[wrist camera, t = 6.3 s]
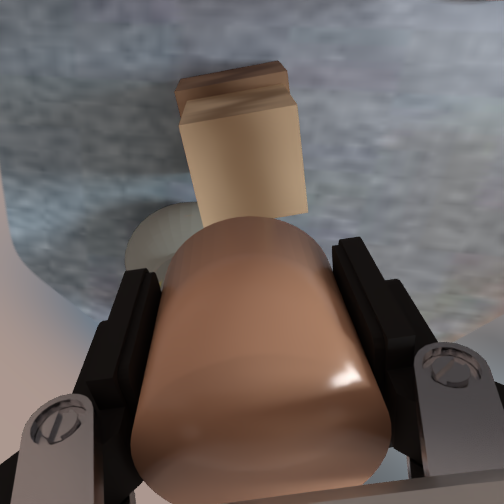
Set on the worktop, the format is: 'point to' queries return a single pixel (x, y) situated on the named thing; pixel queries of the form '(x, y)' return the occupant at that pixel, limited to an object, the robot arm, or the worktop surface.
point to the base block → (230, 82)
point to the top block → (245, 154)
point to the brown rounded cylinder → (255, 373)
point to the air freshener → (162, 238)
